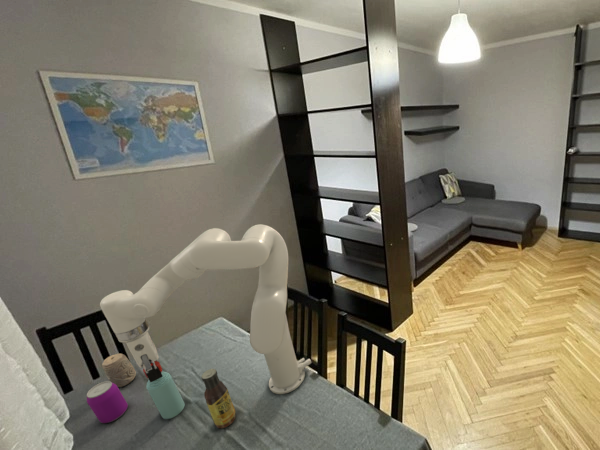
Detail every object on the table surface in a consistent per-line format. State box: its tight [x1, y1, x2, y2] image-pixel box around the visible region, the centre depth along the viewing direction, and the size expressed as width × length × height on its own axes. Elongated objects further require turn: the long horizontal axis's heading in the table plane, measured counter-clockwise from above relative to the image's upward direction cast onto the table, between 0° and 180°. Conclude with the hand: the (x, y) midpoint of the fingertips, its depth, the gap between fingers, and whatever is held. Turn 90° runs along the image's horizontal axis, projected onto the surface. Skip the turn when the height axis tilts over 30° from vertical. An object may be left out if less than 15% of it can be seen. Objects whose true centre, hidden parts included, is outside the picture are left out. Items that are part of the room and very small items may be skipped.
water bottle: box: [146, 371, 186, 420], centre depth 103 cm, size 7×7×20 cm
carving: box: [101, 352, 137, 388], centre depth 117 cm, size 6×8×12 cm
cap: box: [142, 360, 163, 379], centre depth 100 cm, size 4×4×3 cm
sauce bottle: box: [200, 368, 237, 429], centre depth 98 cm, size 6×6×20 cm
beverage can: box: [86, 380, 129, 424], centre depth 105 cm, size 8×8×12 cm
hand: (155, 374), depth 100 cm, fingers closed on cap, 4 cm apart
